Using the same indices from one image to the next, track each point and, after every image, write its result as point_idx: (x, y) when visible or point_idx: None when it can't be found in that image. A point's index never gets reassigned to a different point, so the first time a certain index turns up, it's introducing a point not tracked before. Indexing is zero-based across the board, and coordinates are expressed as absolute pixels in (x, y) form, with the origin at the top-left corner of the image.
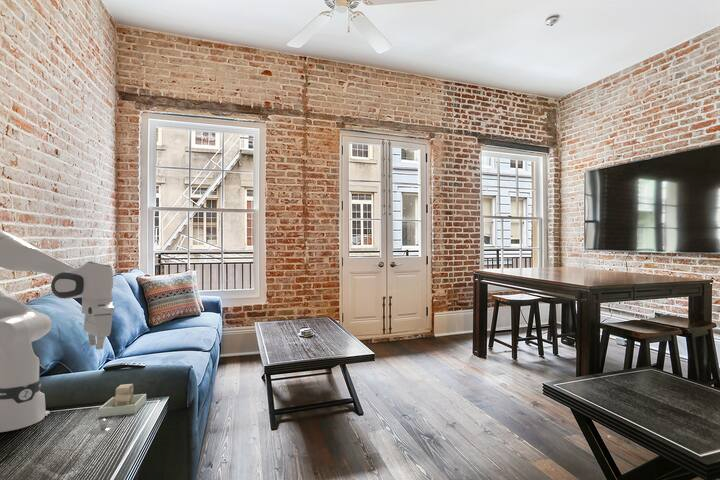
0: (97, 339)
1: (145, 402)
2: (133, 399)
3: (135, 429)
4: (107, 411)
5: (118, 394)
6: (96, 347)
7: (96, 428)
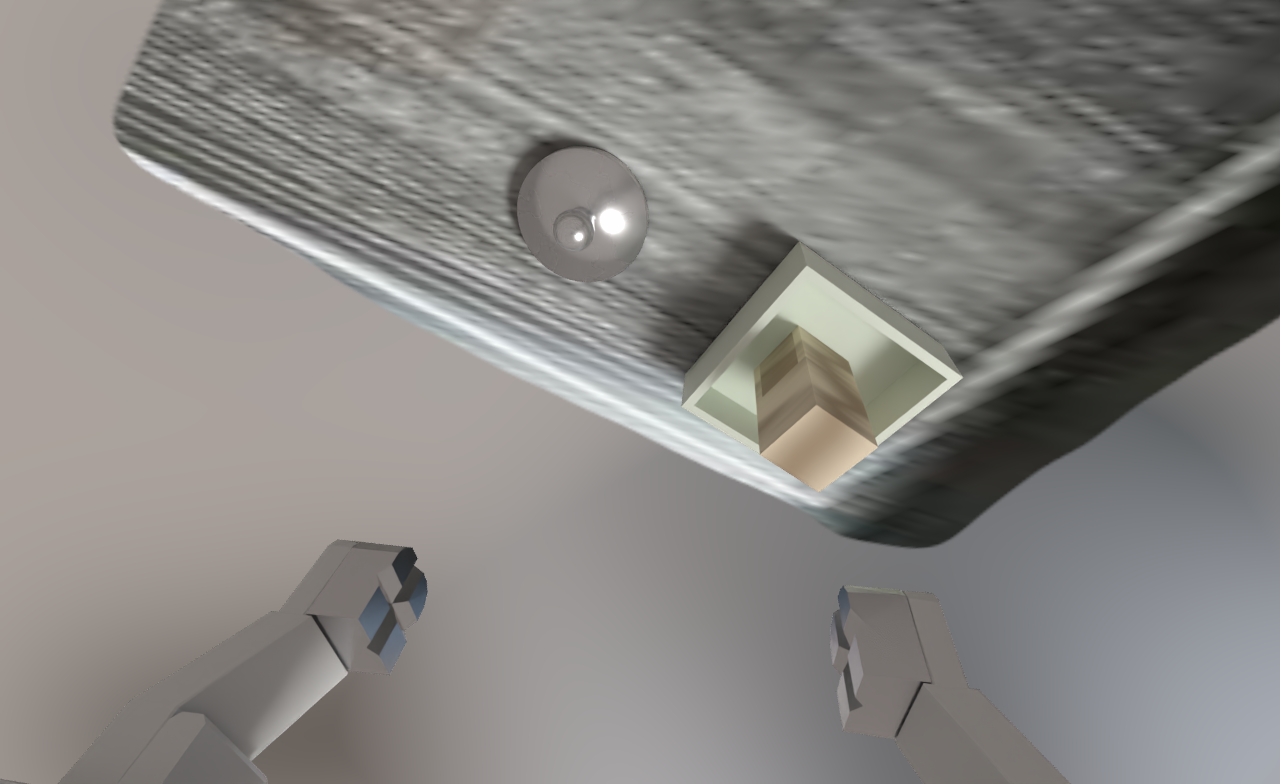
0: (123, 712)
1: None
2: None
3: (513, 324)
4: (770, 294)
5: (798, 392)
6: (339, 562)
7: (617, 195)
